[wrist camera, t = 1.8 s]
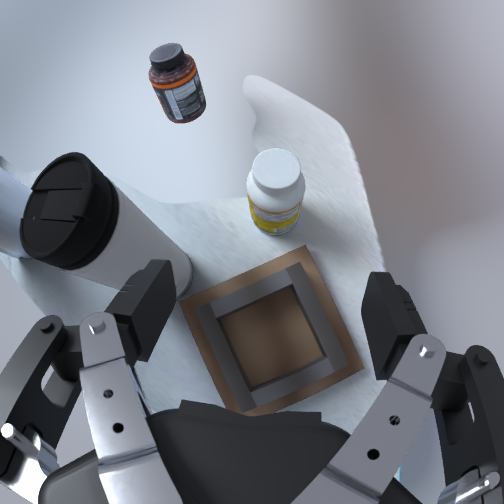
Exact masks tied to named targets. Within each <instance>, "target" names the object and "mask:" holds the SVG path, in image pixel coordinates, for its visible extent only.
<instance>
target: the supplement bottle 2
mask: <svg viewBox="0 0 504 504" xmlns="http://www.w3.org/2000/svg"><path fill="white" fill-rule="evenodd" d="M246 187H247V194H248V201H249V207H250V212H251V217H252V220H253V222H254V224H255V226H256V227H257V228H258V229H259V230H261V231H262V232H264V233H267V234H270V235H280V234H284V233H286V232H288V231H290V230H291V229H292V228H293V227H294V226H295V225H296V223H297V221H298V218H299V214H300V210H301V206H302V201H303V197H304V193H305V179H304V176H303V174H302V172H301V166H300V163H299V161H298V159H297V158H296V156H295V155H294V154H292V153H291V152H289V151H287V150H284V149H280V148H271V149H267V150H265V151H263V152H261V153H260V154H259V155H257V157H256V158H255V159H254V162H253V164H252V170H251V171H250V173H249V175H248V178H247V184H246Z"/></svg>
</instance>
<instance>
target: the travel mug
mask: <svg viewBox="0 0 504 504" xmlns="http://www.w3.org/2000/svg"><path fill="white" fill-rule="evenodd" d="M31 190H32V193H31V194H30V196H29V198H28V201H27V203H26V206H25V210H24V213H23V218H21V220H20V228H19V234H20V241H21V244H22V247H23V249H24V251H25V252H26V253H27V254H28V255H29V256H30V257H32V258H35V259H37V260H40V261H42V262H45V263H47V264H50V265H53V266H55V267H57V268H58V269H61V270H63V271H66V272H69V273H72V274H74V275H77V276H80V277H83V278H86V279H89V280H92V281H95V282H98V283H101V284H104V285H107V286H110V287H113V288H116V289H119V290H120V289H121V288H122V287H123V285H125V283H126V281H127V280H128V279H129V278H130V276H131V275H133V274H134V273H136V272H137V271H139V270H140V269H141V270H144V268H145V267H146V266H147V264H148V263H149V262H150V260H151V259H165V260H170V261H171V263H172V268H173V274H174V280H175V286H176V293H177V296H176V300H177V299H178V298H180V297H181V296H182V295H184V294H185V292H186V291H187V290H188V288H189V286H190V284H191V281H192V277H193V269H192V264H191V261H190V259H189V258H188V256H187V255H186V254H185V253H184V252H183V251H182V250H181V249H180V248H179V247H178V246H177V245H176V244H175V243H174V242H173V241H172V240H171V239H170V238H169V237H168V236H167V235H165V234H164V233H163V232H162V231H161V230H160V229H159V228H158V227H157V226H156V225H155V224H154V223H153V222H152V221H151V220H150V219H149V218H148V217H147V216H146V215H145V214H144V213H143V212H142V211H141V210H140V209H139V208H138V207H137V206H136V205H135V204H134V203H133V202H132V201H131V200H130V199H129V198H128V197H127V196H126V195H125V194H124V193H123V192H122V191H121V190H120V189H119V188H118V187H117V186H115V184H114V183H113V182H112V181H111V180H110V179H108V178H107V177H106V176H104V175H103V173H102V172H101V171H100V170H99V169H98V168H97V167H96V166H95V165H94V164H93V163H92V162H91V161H90V160H89V159H88V158H87V157H86V156H85V155H84V154H82V153H78V152H72V153H67V154H64V155H62V156H60V157H58V158H56V159H55V160H54V161H53V162H51V163H50V164H49V165H48V166H47V167H46V168H45V169H44V170H43V171H42V172H41V173H40V175H39V176H38V177H37V179H36V181H35V182H34V184H33V186H32V188H31Z"/></svg>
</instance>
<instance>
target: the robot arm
mask: <svg viewBox="0 0 504 504" xmlns="http://www.w3.org/2000/svg"><path fill="white" fill-rule="evenodd" d="M31 193H32V190H31V189H29V188H28V187H27V186H25V185H24V184H22V183H21V182H20V181H18V180H17V179H15V178H14V177H13V176H11V175H10V174H9V173H7V172H6V171H5V170H3V169H2V168H1V167H0V252H2V253H5V254H7V255H10V256H12V257H15V258H17V259H19V258H20V257H24V258H29V259H30V258H32V257H30V256H29V255H28V254H27V253H26V252H25V251H24V249H23V247H22V244H21V241H20V234H19V228H20V220H21V218H23V213H24V210H25V206H26V203H27V201H28V198H29V196H30V194H31ZM176 296H177V293H176V286H175V280H174V274H173V268H172V263H171V261H170V260H165V259H151V260H150V262H149V263H148V264H147V266H146V267H145V268H144V270H141V269H140V270H139V271H137V272H136V273H134V274H133V275H131V276H130V278H129V279H128V280H127V281H126V283H125V285H123V287H122V288H121V289H120V292H118V293H117V295H116V296H115V298H114V299H113V300H112V302H111V303H110V304H109V306H108V307H107V308H106V310H105V311H104V312H98V313H94V314H92V315H90V316H88V317H87V318H85V319H84V320H83V322H82V323H81V325H80V326H64V324H63V322H62V320H61V318H60V317H58V316H55V315H50V316H46V317H44V318H42V319H40V320H39V321H38V322H37V323H36V324H35V325H34V326H33V328H32V329H31V330H30V332H29V333H28V334H27V336H26V337H25V338H24V340H23V341H22V343H21V344H20V346H19V347H18V348H17V350H16V351H15V353H14V354H13V356H12V357H11V359H10V360H9V362H8V363H7V365H6V367H5V368H4V369H3V371H2V372H1V374H0V484H2V485H3V486H5V487H7V488H8V489H10V490H14V491H15V492H17V493H19V494H20V495H22V496H24V497H25V498H27V499H28V500H30V501H31V502H33V503H35V504H422V503H421V502H420V501H419V500H418V499H416V498H415V497H414V496H413V495H412V494H411V493H410V492H409V491H408V490H407V489H406V488H405V487H404V486H403V485H402V484H401V483H400V482H399V481H398V480H396V479H395V478H394V475H395V473H396V472H397V470H398V468H399V467H400V465H401V463H402V462H403V460H404V458H405V456H406V455H407V453H408V451H409V449H410V447H411V445H412V444H413V442H414V440H415V438H416V436H417V434H418V432H419V430H420V428H421V426H422V424H423V421H424V419H425V417H426V415H427V413H428V410H429V408H433V409H434V414H435V418H436V423H437V428H438V434H439V440H440V445H441V452H442V459H443V466H444V474H445V483H446V487H445V489H444V490H443V491H442V492H441V494H440V496H439V499H438V503H437V504H504V378H503V376H502V373H501V371H500V368H499V366H498V364H497V362H496V360H495V357H494V356H493V354H492V353H491V352H490V351H489V350H488V349H486V348H485V347H483V346H479V345H474V346H471V347H469V349H467V351H466V353H465V354H464V355H461V354H456V353H452V352H447V351H446V349H445V346H444V345H443V343H442V342H441V341H440V340H439V339H437V338H436V337H434V336H432V335H428V333H427V331H426V329H425V327H424V324H423V322H422V320H421V318H420V316H419V313H418V311H416V307H415V305H414V303H413V301H412V299H411V297H410V295H409V293H408V292H407V291H406V290H405V289H404V288H403V287H402V286H400V285H395V283H394V280H393V278H392V276H391V274H390V273H389V272H371V273H370V275H369V278H368V282H367V286H366V290H365V294H364V298H363V301H362V307H361V316H362V321H363V324H364V328H365V332H366V336H367V340H368V345H369V349H370V353H371V357H372V362H373V366H374V371H375V376H376V380H387V383H386V385H385V386H384V388H383V389H382V391H381V393H380V394H379V396H378V397H377V399H376V400H375V402H374V403H373V405H372V406H371V408H370V409H369V411H368V412H367V414H366V415H365V417H364V418H363V420H362V421H361V422H360V424H359V425H358V426H357V428H356V429H355V431H354V432H353V433H352V435H350V434H349V433H348V432H346V431H345V430H343V429H341V428H339V427H337V426H335V425H332V424H329V423H326V422H322V421H321V412H291V411H285V412H279V413H273V414H266V415H259V416H245V415H242V414H239V413H236V412H233V411H231V410H228V409H225V408H222V407H219V406H217V405H213V404H206V403H200V402H194V401H188V400H182V401H181V404H180V407H179V408H178V409H169V410H164V411H160V412H157V413H154V414H153V413H152V411H151V409H150V406H149V404H148V402H147V399H146V396H145V394H144V391H143V389H142V386H141V383H140V380H139V378H138V375H137V372H136V369H135V367H134V365H135V363H136V361H137V360H139V361H144V362H148V360H149V358H150V355H151V353H152V351H153V349H154V347H155V345H156V343H157V341H158V339H159V336H160V334H161V332H162V330H163V328H164V326H165V324H166V322H167V320H168V318H169V316H170V314H171V312H172V310H173V308H174V305H175V303H176ZM50 364H51V366H52V367H53V369H54V371H53V373H52V375H51V377H50V378H49V380H48V382H47V384H46V386H45V388H44V389H43V391H42V388H41V381H42V378H43V376H44V375H45V373H46V371H47V369H48V368H49V366H50ZM81 390H82V391H83V397H84V402H85V407H86V412H87V416H88V421H89V425H90V430H91V434H92V438H93V441H94V445H95V449H94V450H92V451H91V452H88V453H87V454H85V455H83V456H81V457H80V458H78V459H76V460H74V461H72V462H70V463H69V464H67V465H65V466H63V467H61V468H60V467H59V464H58V463H57V455H56V452H55V449H56V447H57V444H58V442H59V439H60V437H61V435H62V432H63V430H64V428H65V425H66V423H67V421H68V418H69V416H70V414H71V412H72V410H73V407H74V405H75V403H76V401H77V398H78V397H79V395H80V392H81ZM469 402H471V406H472V409H473V413H474V418H475V419H474V423H473V419H472V415H471V412H470V408H469V405H468V403H469Z"/></svg>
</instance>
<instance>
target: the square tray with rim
mask: <svg viewBox="0 0 504 504" xmlns="http://www.w3.org/2000/svg"><path fill="white" fill-rule="evenodd" d="M179 302H180V305H181V307H182V310H183V312H184V315H185V317H186V320H187V322H188V325H189V327H190V330H191V332H192V334H193V337H194V339H195V341H196V344H197V346H198V348H199V351H200V353H201V355H202V357H203V360H204V362H205V364H206V366H207V369H208V371H209V373H210V375H211V377H212V380H213V382H214V384H215V386H216V388H217V390H218V392H219V394H220V396H221V398H222V400H223V403H224V405H225V407H226V409H228V410H231V411H233V412H236V413H239V414H242V415H245V416H259V415H266V414H270V413H273V412H275V411H278V410H280V409H282V408H285V407H287V406H289V405H292V404H294V403H296V402H298V401H301V400H303V399H305V398H307V397H309V396H311V395H314V394H316V393H318V392H320V391H322V390H324V389H326V388H328V387H330V386H332V385H334V384H336V383H338V382H339V381H341V380H343V379H345V378H347V377H349V376H351V375H353V374H354V373H356V372H358V371H360V370H362V369H363V368H364V366H363V364H362V362H361V360H360V357H359V355H358V353H357V351H356V348H355V346H354V344H353V342H352V340H351V337H350V335H349V333H348V331H347V329H346V327H345V324H344V322H343V320H342V318H341V316H340V314H339V312H338V310H337V307H336V305H335V303H334V301H333V299H332V297H331V295H330V293H329V291H328V289H327V287H326V285H325V283H324V281H323V279H322V277H321V275H320V273H319V271H318V269H317V267H316V265H315V263H314V261H313V259H312V257H311V255H310V253H309V251H308V249H307V247H306V245H304V246H302V247H299V248H297V249H295V250H293V251H291V252H288V253H286V254H284V255H282V256H280V257H278V258H275V259H273V260H271V261H269V262H267V263H264V264H262V265H260V266H258V267H256V268H253V269H251V270H249V271H247V272H245V273H242V274H240V275H238V276H236V277H233V278H231V279H229V280H227V281H225V282H222V283H220V284H218V285H216V286H213V287H211V288H209V289H207V290H204V291H202V292H200V293H198V294H195V295H193V296H191V297H189V298H186V299H184V300H182V301H179Z"/></svg>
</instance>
